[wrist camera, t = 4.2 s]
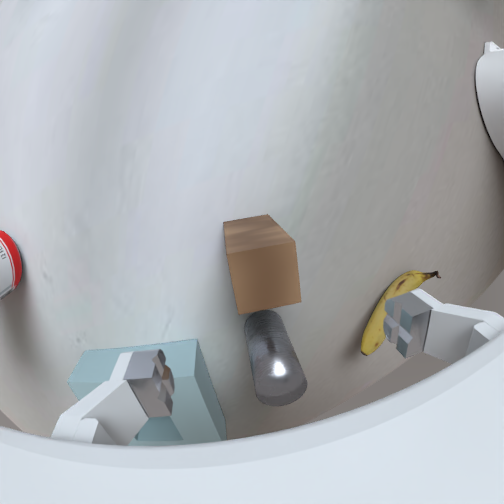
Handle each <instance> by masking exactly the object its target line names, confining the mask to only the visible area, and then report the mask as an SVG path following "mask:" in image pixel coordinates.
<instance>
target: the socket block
mask: <svg viewBox="0 0 504 504" xmlns="http://www.w3.org/2000/svg"><path fill="white" fill-rule="evenodd" d="M153 349H161V350H162V351H163V352H164V355H165V357H166V362H165V365H167V366H168V367H169V368H170V369H171V371H172V374H173V378H174V385H175V389H174V394H173V395H172V396H171V399H172V401H173V407H172V416H163V417H151V418H149V419H148V421H147V422H146V423H145V424H144V426H143V427H142V428H141V429H140V431H139V432H138V433H137V434H136V436H135V437H134V438H133V439H132V441H131V442H130V443H129V444H128V446H166V445H185V444H198V443H208V442H217V441H225V440H227V437H226V423H225V418H224V415H223V413H222V410H221V407H220V405H219V402H218V399H217V396H216V394H215V391H214V388H213V385H212V382H211V380H210V377H209V374H208V371H207V368H206V365H205V362H204V359H203V356H202V353H201V350H200V346H199V343H198V340H197V339H192V340H185V341H177V342H170V343H162V344H154V345H145V346H136V347H126V348H115V349H103V350H89V351H85V352H84V353H83V355H82V357H81V358H80V360H79V362H78V364H77V365H76V367H75V369H74V371H73V372H72V374H71V376H70V378H69V379H68V381H67V383H68V385H69V386H70V388H71V389H72V391H73V392H74V394H75V396H76V397H77V399H78V400H79V401H80V400H81V399H82V398H84V397H85V396H86V395H88V394H89V393H90V392H92V391H93V390H94V389H95V388H97V387H98V386H99V385H101V384H102V383H103V382H105V381H109V379H110V377H111V374H112V372H113V369H114V367H115V365H116V362H117V360H118V357H119V355H120V354H121V353H123V352H131V351H134V352H135V351H143V350H153Z"/></svg>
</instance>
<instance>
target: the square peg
mask: <svg viewBox="0 0 504 504" xmlns="http://www.w3.org/2000/svg"><path fill="white" fill-rule="evenodd" d="M224 232H225V243H226V254H227V259H228V264H229V270H230V275H231V280H232V285H233V290H234V295H235V299H236V304H237V309H238V314H239V315H240V314H245V313H250V312H256V311H261V310H266V309H271V308H276V307H281V306H285V305H290V304H295V303H299V302H301V293H300V283H299V273H298V263H297V254H296V245H295V241H294V240H293V239H292V238H291V237H290V236H289V235H288V234H287V233H286V232H285V231H284V230H283V229H282V228H281V227H280V226H279V225H278V224H277V223H276V222H275V221H274V220H273V219H272V218H271V217H270V216H269V215H268V214H267V215H261V216H255V217H250V218H244V219H238V220H233V221H227V222H224Z"/></svg>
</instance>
